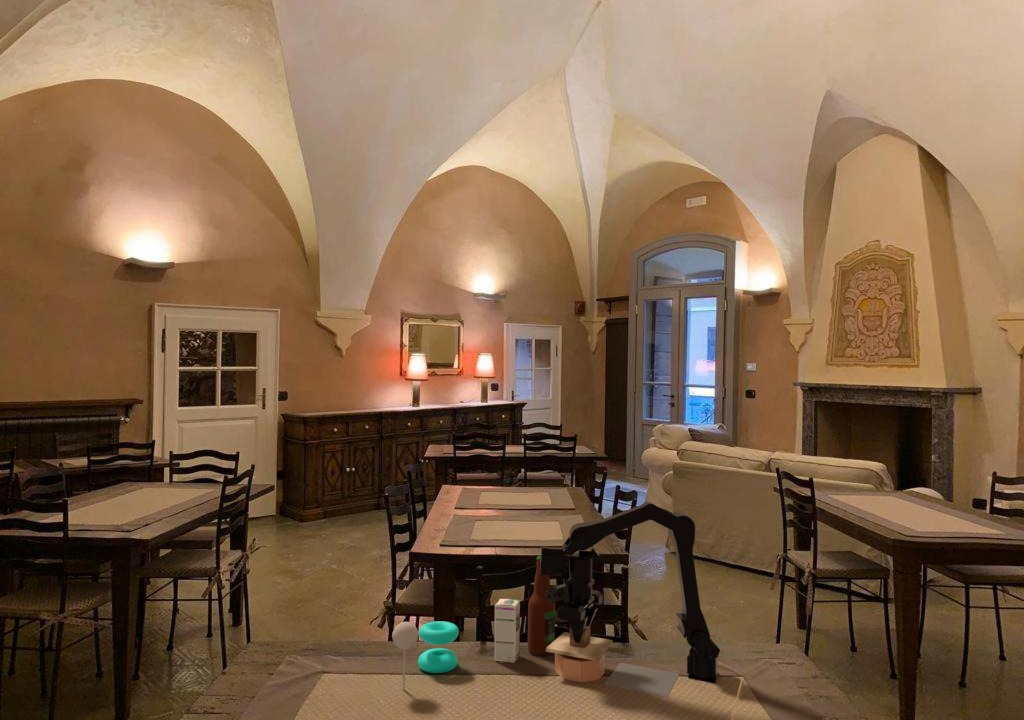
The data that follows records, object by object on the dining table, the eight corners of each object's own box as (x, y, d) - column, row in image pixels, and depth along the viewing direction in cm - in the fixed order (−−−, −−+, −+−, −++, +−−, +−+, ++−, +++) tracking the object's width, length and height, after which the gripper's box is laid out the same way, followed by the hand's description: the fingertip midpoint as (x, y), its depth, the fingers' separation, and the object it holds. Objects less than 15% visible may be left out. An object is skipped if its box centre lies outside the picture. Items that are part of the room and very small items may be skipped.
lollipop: (421, 686, 147) (423, 620, 148) (409, 697, 141) (411, 628, 143) (397, 682, 149) (400, 616, 150) (385, 692, 143) (387, 624, 145)
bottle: (555, 657, 167) (556, 560, 169) (527, 656, 167) (529, 559, 169) (553, 646, 174) (555, 554, 176) (527, 646, 174) (529, 553, 176)
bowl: (608, 669, 159) (608, 648, 160) (594, 686, 149) (594, 664, 149) (565, 661, 164) (566, 641, 164) (549, 677, 154) (550, 655, 154)
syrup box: (515, 664, 161) (516, 605, 163) (493, 661, 163) (494, 603, 164) (519, 655, 167) (520, 599, 168) (498, 653, 168) (499, 597, 169)
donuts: (466, 624, 161) (441, 635, 152) (465, 665, 160) (439, 678, 152) (437, 617, 166) (410, 627, 158) (436, 656, 165) (409, 668, 157)
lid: (612, 643, 160) (612, 624, 160) (597, 661, 148) (597, 639, 149) (564, 635, 166) (564, 616, 166) (545, 651, 154) (546, 631, 154)
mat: (679, 675, 156) (679, 673, 156) (667, 699, 143) (667, 697, 143) (620, 664, 163) (620, 662, 163) (603, 686, 149) (603, 684, 149)
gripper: (563, 564, 170) (562, 624, 169) (536, 580, 153) (535, 646, 152) (603, 569, 166) (602, 630, 164) (580, 586, 149) (579, 654, 147)
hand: (580, 640), depth 157 cm, fingers closed on lid, 4 cm apart
